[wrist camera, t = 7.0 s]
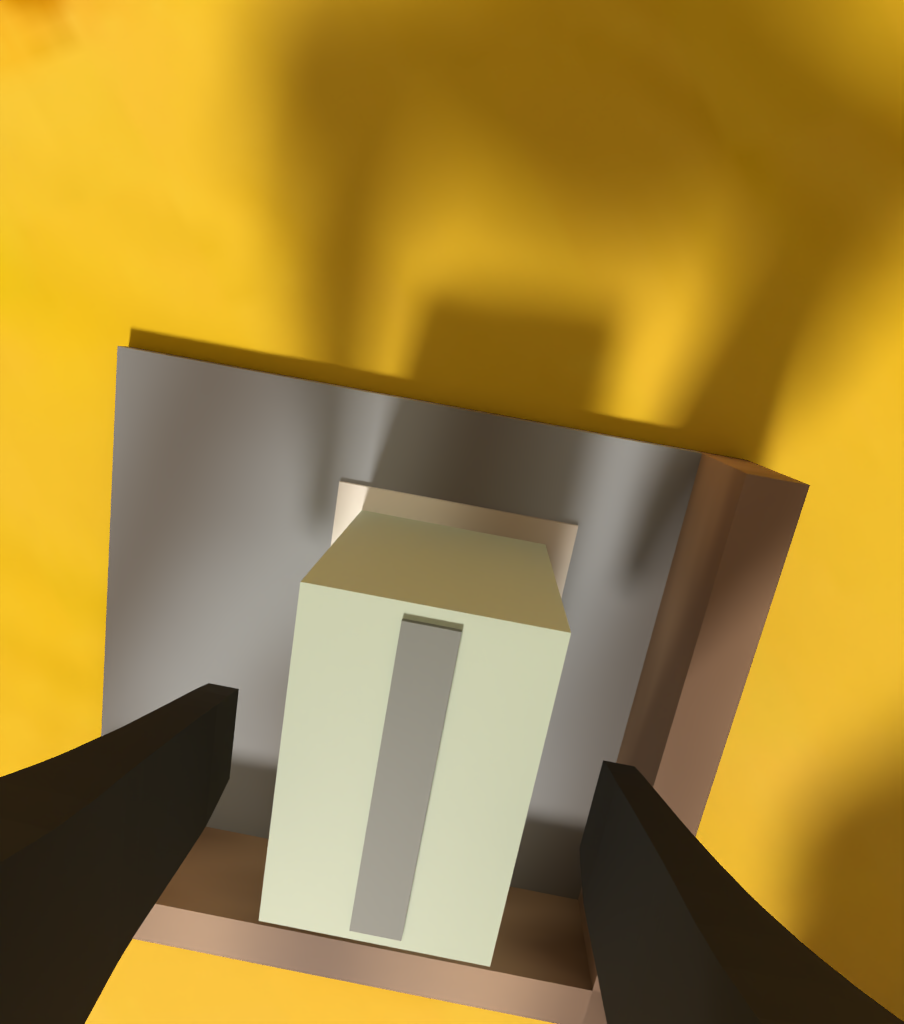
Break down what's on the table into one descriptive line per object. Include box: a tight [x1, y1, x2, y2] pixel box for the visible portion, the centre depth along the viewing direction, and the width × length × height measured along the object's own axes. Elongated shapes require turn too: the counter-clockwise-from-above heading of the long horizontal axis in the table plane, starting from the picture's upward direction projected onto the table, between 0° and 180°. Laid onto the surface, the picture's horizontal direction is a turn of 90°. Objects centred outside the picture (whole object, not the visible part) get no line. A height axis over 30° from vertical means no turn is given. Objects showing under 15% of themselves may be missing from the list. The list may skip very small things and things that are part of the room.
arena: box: [101, 346, 810, 1024], centre depth 15 cm, size 15×14×3 cm
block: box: [259, 510, 571, 967], centre depth 13 cm, size 7×4×5 cm, turn 170°
